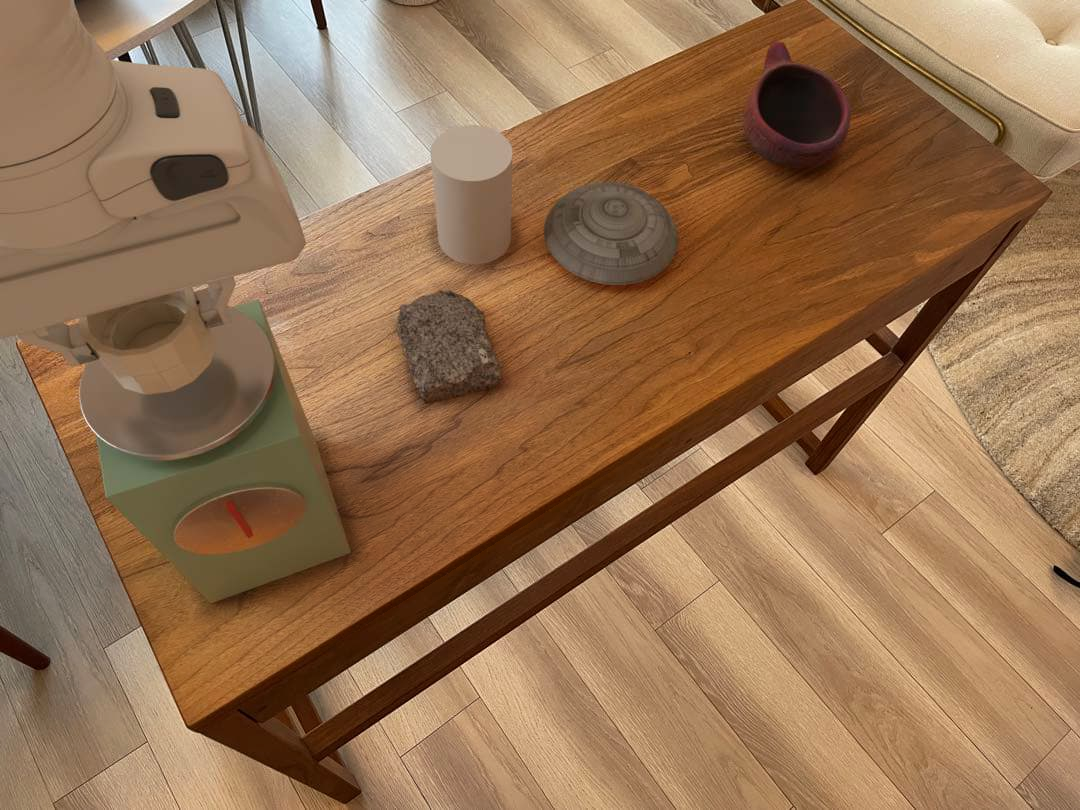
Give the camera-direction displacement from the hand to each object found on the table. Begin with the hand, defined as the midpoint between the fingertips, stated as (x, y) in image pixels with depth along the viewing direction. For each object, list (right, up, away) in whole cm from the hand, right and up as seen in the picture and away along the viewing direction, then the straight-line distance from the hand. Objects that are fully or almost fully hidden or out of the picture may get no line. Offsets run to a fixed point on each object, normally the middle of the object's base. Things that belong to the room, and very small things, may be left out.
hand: (154, 335), depth 48 cm
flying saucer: (+31, +14, +42) cm, 54 cm away
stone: (+14, +1, +33) cm, 36 cm away
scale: (-1, -14, +23) cm, 27 cm away
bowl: (+53, +29, +53) cm, 80 cm away
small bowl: (0, -1, +2) cm, 2 cm away
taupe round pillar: (+16, +15, +42) cm, 47 cm away
